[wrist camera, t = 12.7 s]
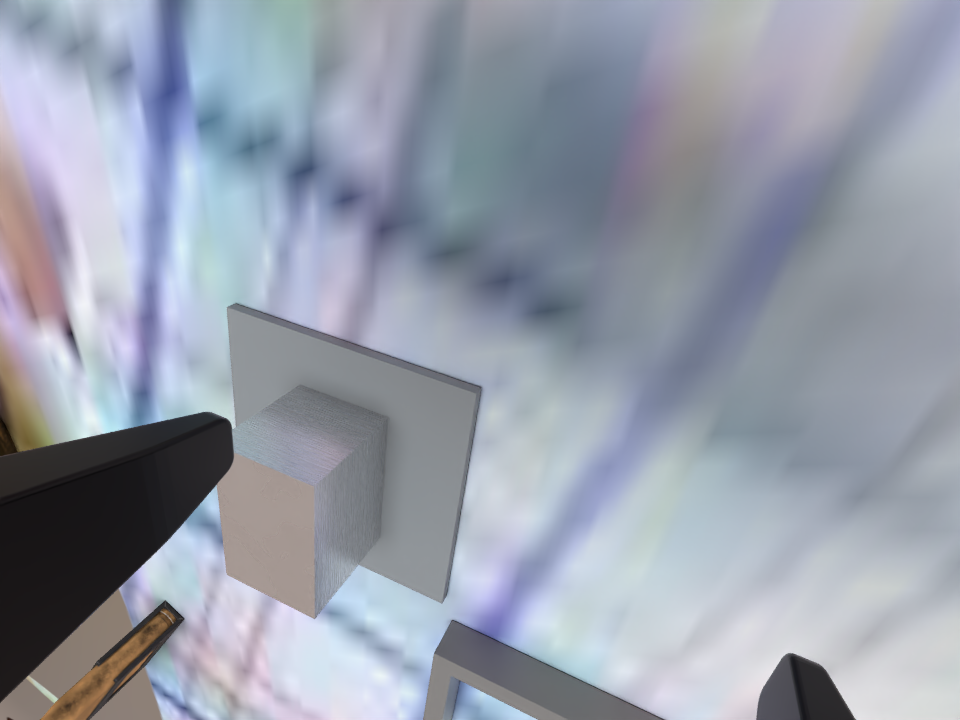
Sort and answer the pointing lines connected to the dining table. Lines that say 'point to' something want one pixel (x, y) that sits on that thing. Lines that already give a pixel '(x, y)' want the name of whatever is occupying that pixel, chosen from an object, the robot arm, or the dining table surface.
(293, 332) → the slate mat
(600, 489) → the dining table surface
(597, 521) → the dining table surface
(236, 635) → the dining table surface
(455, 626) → the gray rectangular frame
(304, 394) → the block
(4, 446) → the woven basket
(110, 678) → the ammunition clip
